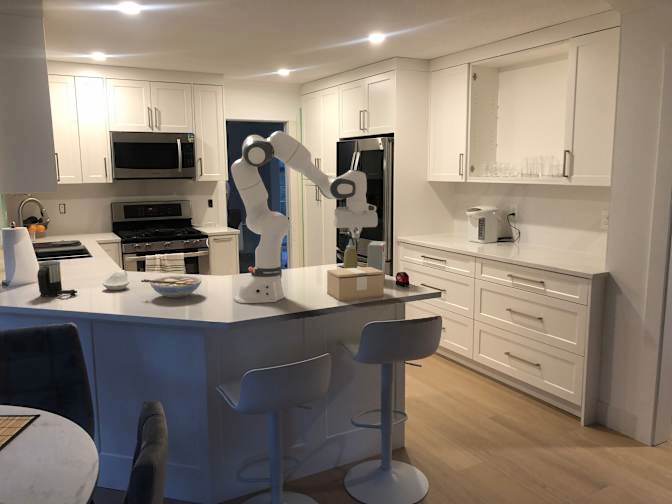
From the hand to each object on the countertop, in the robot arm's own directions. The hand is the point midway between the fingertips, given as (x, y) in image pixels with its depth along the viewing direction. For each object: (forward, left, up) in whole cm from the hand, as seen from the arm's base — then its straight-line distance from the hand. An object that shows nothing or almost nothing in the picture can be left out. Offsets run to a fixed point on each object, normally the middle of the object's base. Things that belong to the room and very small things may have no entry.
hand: (355, 237), depth 247 cm
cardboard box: (0, 0, -27) cm, 27 cm away
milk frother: (-125, +50, -27) cm, 137 cm away
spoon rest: (-100, +58, -27) cm, 119 cm away
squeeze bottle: (+20, +51, -27) cm, 61 cm away
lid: (0, 0, -16) cm, 16 cm away
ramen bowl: (-76, +28, -27) cm, 85 cm away
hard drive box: (+22, +23, -27) cm, 42 cm away
